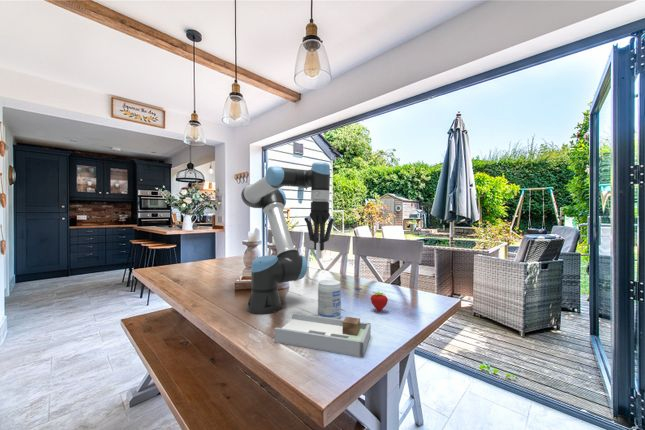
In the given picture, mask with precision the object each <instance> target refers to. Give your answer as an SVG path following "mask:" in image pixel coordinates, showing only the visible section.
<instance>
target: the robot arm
mask: <svg viewBox="0 0 645 430" xmlns="http://www.w3.org/2000/svg"><path fill="white" fill-rule="evenodd" d="M330 182H331V166H330V164H329V163H327V162H321V161H320V162H313V163H312V164H311V169H301V168H300V169H299V168H290V167H284V166H269V167H268V168H267V169H266V171H265V175H264V177H261V179H259V180H257V181H255V182H254V183H252V184H248V185H247V186H245V187H243V189H242V191H241V194H240V196H241V200H242V202H243V204H245V205H246V206H247V207H250V208H254V209H262V213H263V214H264V215H266V216H267V220H268V223H269V227H270V230H271V234H272V235H271V236H272V238H273V240H274V245H275V248H276V255H275V254H274V255H273V254H270V255H262V256H258V257H256V258H254V259H253V260H252V262H251V267H250V272H251V274H250V275H251V278H250V279H251V282H250V283H251V285H250V286H251V288H250V289H251V290H250V291H251V292H250V296H249V299H248V301H247V305H246V309H247V311H248V312H249V313H251V314H255V315H266V314H273V313H276V312H278V311H279V310H281V309H282V300H281V297H280V295H279V292H278V284H282V283H289V282H295V281H298V280H302V279H303V278H305V276H306V274H307V271H308V261H307V259H306V257H305V256H304V255H303V254H302V255H301V254H300V253H299V249H297V248H295V247H294V244H293V240H292V236H291V234H290V231H289V227H288V224H287V221H286V218H285V217H286V216H285V213H284V210H285V206H286V204H287V200H286V199H287V196H286V194H285V191H284V190H283V189H282V188H283V187H295V188H302V189H307V188H310V189H311V190H310V200H311V202H310V213H309V215H308V216H307V217H304V221H305V222H306V228H307V232H308V237H309V241H310V242H311V241H312V242H313V249H314V251H315V259H316V260H320V259H322V257H323V255H322V254H323V251H324V250H325V243H326V242H329V239H330V236H331V232H332V230H333V229H332V228H333V224H334V223H335V222H336V219H335V218H333V217H332V216H331V214H330V202H329V201H330V185H331V184H330ZM327 221H328V222H327ZM312 223H313V224H312ZM326 223H327V228H326ZM313 227H314V228H313ZM325 229H326V230H325Z"/></svg>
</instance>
